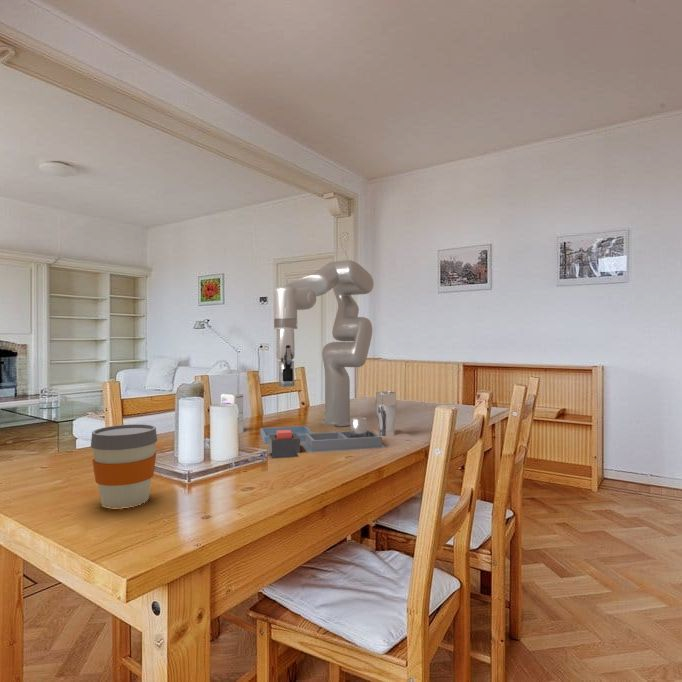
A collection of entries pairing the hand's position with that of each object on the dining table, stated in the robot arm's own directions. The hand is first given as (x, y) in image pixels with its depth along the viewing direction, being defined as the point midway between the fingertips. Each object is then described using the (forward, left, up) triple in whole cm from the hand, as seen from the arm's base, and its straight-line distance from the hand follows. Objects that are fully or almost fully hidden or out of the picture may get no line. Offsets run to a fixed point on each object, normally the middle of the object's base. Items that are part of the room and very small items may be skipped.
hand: (286, 379), depth 159 cm
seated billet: (+16, +20, -19) cm, 32 cm away
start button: (+18, -3, -16) cm, 25 cm away
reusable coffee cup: (+50, -40, -20) cm, 67 cm away
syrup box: (-12, -17, -20) cm, 29 cm away
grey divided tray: (+16, +15, -20) cm, 30 cm away
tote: (0, 0, -20) cm, 20 cm away
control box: (+18, -3, -20) cm, 27 cm away
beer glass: (+4, +33, -20) cm, 39 cm away
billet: (0, 0, -2) cm, 2 cm away
